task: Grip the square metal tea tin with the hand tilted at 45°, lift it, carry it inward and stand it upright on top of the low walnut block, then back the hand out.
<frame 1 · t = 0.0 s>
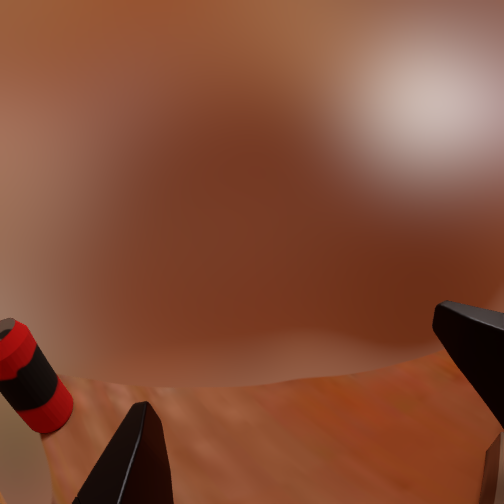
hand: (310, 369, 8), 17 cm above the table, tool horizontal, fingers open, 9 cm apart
soda can: (51, 413, 26), on the table
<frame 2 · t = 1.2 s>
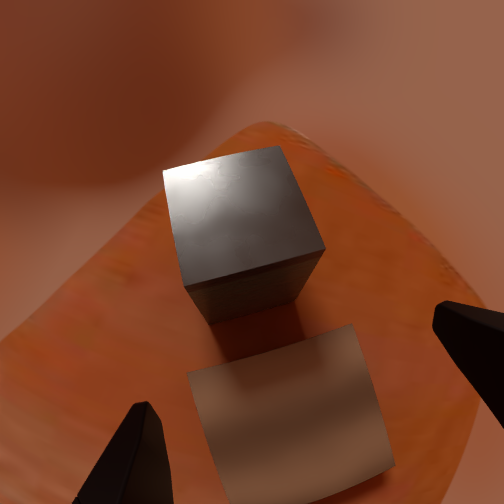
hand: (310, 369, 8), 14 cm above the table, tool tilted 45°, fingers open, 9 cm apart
walnut block: (291, 423, 19), on the table
tea tin: (240, 272, 23), on the table
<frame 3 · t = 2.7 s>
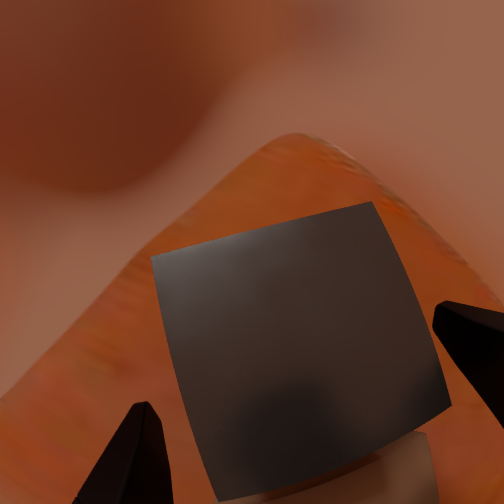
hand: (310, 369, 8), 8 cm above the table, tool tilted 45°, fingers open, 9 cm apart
tea tin: (274, 363, 16), on the table
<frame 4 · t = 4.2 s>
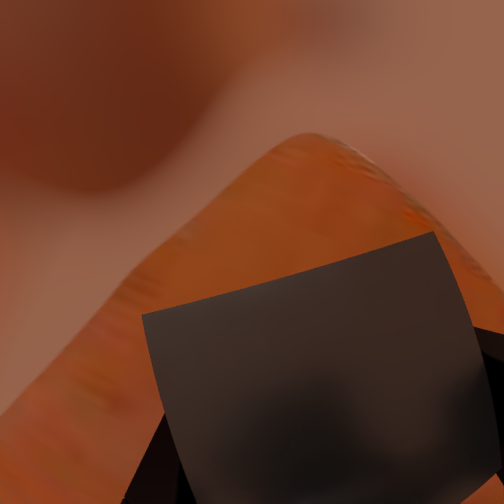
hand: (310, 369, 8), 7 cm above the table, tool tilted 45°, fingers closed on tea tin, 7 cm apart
tea tin: (290, 399, 13), on the table, touching gripper
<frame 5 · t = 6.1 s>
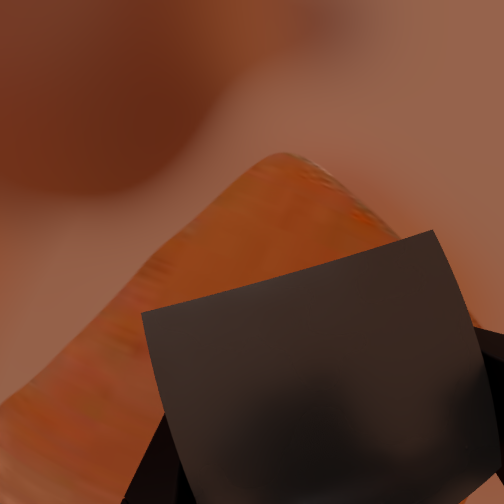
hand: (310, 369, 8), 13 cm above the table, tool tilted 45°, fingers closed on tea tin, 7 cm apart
tea tin: (289, 398, 13), point 6 cm above the table, touching gripper
when the fingers open (10 cm above the table, at t = 8.3 s): tea tin stays where it is, resting on walnut block.
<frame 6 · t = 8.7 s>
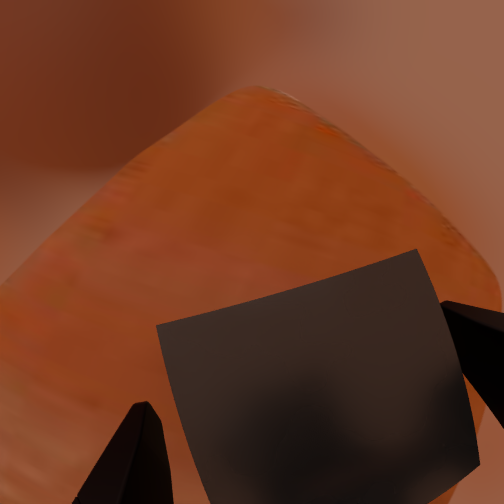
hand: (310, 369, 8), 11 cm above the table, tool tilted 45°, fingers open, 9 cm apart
tea tin: (287, 398, 14), point 3 cm above the table, touching walnut block
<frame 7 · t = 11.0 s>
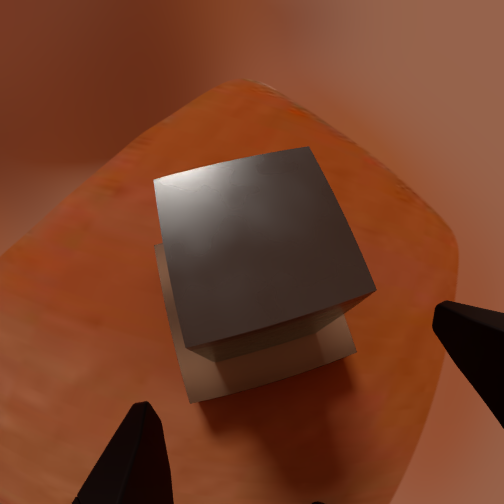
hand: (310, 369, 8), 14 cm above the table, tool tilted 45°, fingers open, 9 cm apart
walnut block: (250, 309, 22), on the table
tea tin: (251, 299, 19), point 3 cm above the table, touching walnut block
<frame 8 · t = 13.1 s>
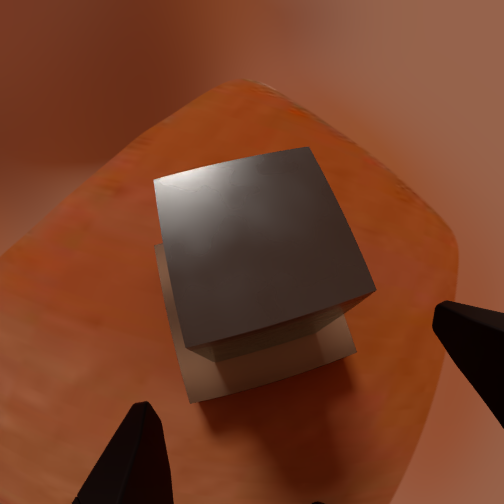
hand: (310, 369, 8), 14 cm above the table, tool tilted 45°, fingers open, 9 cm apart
walnut block: (250, 309, 22), on the table
tea tin: (251, 299, 19), point 3 cm above the table, touching walnut block
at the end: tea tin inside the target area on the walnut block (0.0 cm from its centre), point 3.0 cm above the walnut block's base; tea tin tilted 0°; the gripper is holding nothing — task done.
